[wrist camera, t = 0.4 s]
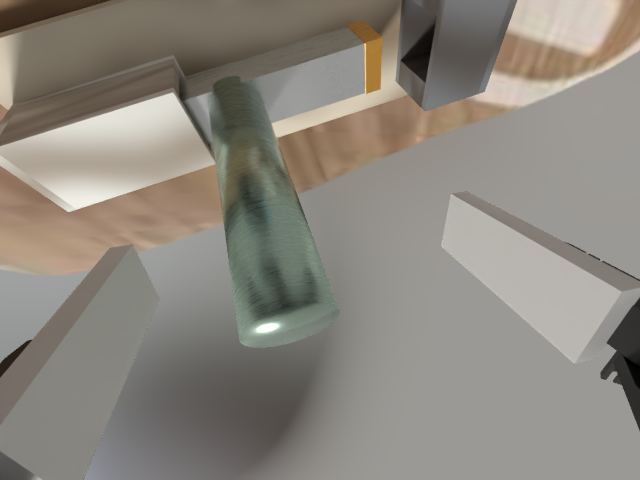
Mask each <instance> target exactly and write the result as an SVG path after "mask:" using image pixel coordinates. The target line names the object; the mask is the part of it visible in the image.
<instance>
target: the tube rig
mask: <svg viewBox="0 0 640 480" xmlns="http://www.w3.org/2000/svg"><path fill="white" fill-rule="evenodd" d="M516 2H517V0H110V1H107V2H103V3H100V4H97V5H93V6H90V7H86V8H83V9H80V10H76V11H73V12H69V13H66V14H63V15H59V16H56V17H52V18H49V19H45V20H42V21H39V22H35V23H32V24H28V25H25V26H22V27H18V28H15V29H11V30H8V31H5V32H1V33H0V104H1V105H2V106H4V107H5V108H6V109H7V110H8V112H7V113H6V115H5V117H4V118H3V120H2V121H1V123H0V166H2V167H3V168H5V169H6V170H8V171H9V172H11V173H12V174H14V175H15V176H16V177H18V178H19V179H21V180H22V181H24V182H25V183H27V184H28V185H30V186H31V187H33V188H34V189H35V190H37V191H38V192H40V193H41V194H43V195H44V196H46V197H47V198H49V199H50V200H52V201H53V202H54V203H56V204H57V205H59V206H60V207H62V208H63V209H65V210H66V211H68V212H70V211H73V210H76V209H79V208H82V207H86V206H89V205H92V204H95V203H98V202H101V201H104V200H107V199H110V198H113V197H116V196H119V195H122V194H125V193H128V192H131V191H134V190H138V189H141V188H144V187H147V186H150V185H153V184H156V183H159V182H162V181H165V180H168V179H171V178H174V177H177V176H180V175H183V174H186V173H190V172H193V171H196V170H199V169H202V168H205V167H208V166H211V165H214V164H216V162H215V154H214V147H213V142H212V143H209V144H206V142H205V140H204V139H203V137H202V135H201V134H200V132H199V130H198V129H197V127H196V125H195V124H194V122H193V120H192V118H191V117H190V115H189V113H188V112H187V110H186V108H185V107H184V105H183V103H182V102H181V100H180V98H179V78H182V77H186V76H189V75H192V74H195V73H198V72H202V71H205V70H208V69H211V68H215V67H218V66H221V65H224V64H227V63H231V62H234V61H237V60H240V59H243V58H247V57H250V56H253V55H256V54H260V53H263V52H266V51H269V50H272V49H276V48H279V47H282V46H285V45H289V44H292V43H295V42H298V41H301V40H305V39H308V38H311V37H314V36H318V35H321V34H324V33H327V32H330V31H334V30H337V29H340V28H343V27H347V25H349V24H352V23H355V22H358V21H362V20H363V21H364V22H365V23H366V24H368V25H369V26H370V27H371V28H372V29H373V30H374V31H376V32H377V33H378V34H379V35H380V36H381V37H383V38H382V65H381V89H380V90H377V91H374V92H371V93H368V94H366V93H364V94H361V95H358V96H355V97H351V98H348V99H345V100H342V101H339V102H336V103H333V104H330V105H327V106H324V107H321V108H317V109H314V110H311V111H308V112H305V113H302V114H299V115H296V116H293V117H290V118H286V119H283V120H280V121H277V122H274V123H271V124H272V127H273V129H274V132H275V135H276V138H278V137H281V136H284V135H287V134H290V133H293V132H296V131H299V130H302V129H305V128H308V127H311V126H314V125H317V124H321V123H324V122H327V121H330V120H333V119H336V118H339V117H342V116H345V115H348V114H351V113H354V112H357V111H360V110H363V109H367V108H370V107H373V106H376V105H379V104H382V103H385V102H388V101H391V100H394V99H397V98H400V97H403V96H406V95H409V96H410V97H411V98H412V99H413V100H414V101H415V102H416V103H417V104H418V105H419V106H420V107H421V108H422V109H423V110H424V111H428V110H431V109H434V108H437V107H440V106H443V105H446V104H449V103H452V102H455V101H458V100H461V99H464V98H467V97H470V96H473V95H476V94H479V93H483V92H485V89H486V86H487V84H488V81H489V78H490V75H491V72H492V70H493V67H494V64H495V61H496V58H497V56H498V53H499V50H500V47H501V44H502V42H503V39H504V36H505V33H506V30H507V27H508V25H509V22H510V19H511V16H512V13H513V11H514V8H515V5H516Z"/></svg>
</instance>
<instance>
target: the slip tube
mask: <svg viewBox="0 0 640 480" xmlns="http://www.w3.org/2000/svg"><path fill="white" fill-rule="evenodd" d="M382 38H383V37H381V36H380V35H379V34H378V33H377V32H376V31H374V30H373V29H372V28H371V27H370V26H369V25H368V24H366V23H365V22H364V21H363V20H362V21H358V22H355V23H352V24H349V25H347V27H343V28H340V29H337V30H334V31H330V32H327V33H324V34H321V35H318V36H314V37H311V38H308V39H305V40H301V41H298V42H295V43H292V44H289V45H285V46H282V47H279V48H276V49H272V50H269V51H266V52H263V53H260V54H256V55H253V56H250V57H247V58H243V59H240V60H237V61H234V62H231V63H227V64H224V65H221V66H218V67H215V68H211V69H208V70H205V71H202V72H198V73H195V74H192V75H189V76H186V77H182V78H179V98H180V100H181V102H182V103H183V105H184V107H185V108H186V110H187V112H188V113H189V115H190V117H191V118H192V120H193V122H194V124H195V125H196V127H197V129H198V130H199V132H200V134H201V135H202V137H203V139H204V140H205V142H206V144H209V143H212V142H213V147H214V154H215V162H216V169H217V177H218V184H219V192H220V199H221V206H222V214H223V221H224V229H225V236H226V244H227V251H228V258H229V266H230V274H231V280H232V288H233V295H234V303H235V310H236V318H237V325H238V333H239V340H240V342H241V343H242V344H243V345H245V346H249V347H257V348H258V347H259V348H261V347H272V346H279V345H283V344H288V343H291V342H294V341H298V340H301V339H303V338H306V337H309V336H311V335H313V334H315V333H317V332H319V331H321V330H323V329H324V328H326V327H327V326H329V325H330V324H331V323H333V321H335V319H336V318H337V317H338V315H339V309H338V306H337V303H336V300H335V298H334V295H333V292H332V289H331V286H330V284H329V281H328V278H327V275H326V273H325V270H324V267H323V265H322V262H321V259H320V256H319V253H318V251H317V248H316V245H315V242H314V240H313V237H312V234H311V231H310V229H309V226H308V223H307V220H306V218H305V215H304V212H303V209H302V207H301V204H300V201H299V198H298V196H297V193H296V190H295V187H294V184H293V182H292V179H291V176H290V173H289V171H288V168H287V165H286V162H285V160H284V157H283V154H282V151H281V149H280V146H279V143H278V140H277V138H276V135H275V132H274V129H273V127H272V124H271V123H274V122H277V121H280V120H283V119H286V118H290V117H293V116H296V115H299V114H302V113H305V112H308V111H311V110H314V109H317V108H321V107H324V106H327V105H330V104H333V103H336V102H339V101H342V100H345V99H348V98H351V97H355V96H358V95H361V94H364V93H366V94H368V93H371V92H374V91H377V90H380V89H381V65H382Z"/></svg>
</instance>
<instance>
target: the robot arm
mask: <svg viewBox="0 0 640 480" xmlns="http://www.w3.org/2000/svg"><path fill="white" fill-rule="evenodd" d="M441 247H443V248H444V249H445V250H446V251H447V252H448V253H450V254H451V255H452V256H453V257H454V258H455V259H456V260H457V261H458V262H460V263H461V264H462V265H463V266H464V267H465V268H467V269H468V270H469V271H470V272H471V273H472V274H473V275H475V276H476V277H477V278H478V279H479V280H480V281H481V282H482V283H483V284H485V285H486V286H487V287H488V288H489V289H490V290H491V291H493V292H494V293H495V294H496V295H497V296H498V297H499V298H500V299H502V300H503V301H504V302H505V303H506V304H507V305H509V306H510V307H511V308H512V309H513V310H514V311H515V312H516V313H518V314H519V315H520V316H521V317H522V318H523V319H524V320H526V321H527V322H528V323H529V324H530V325H531V326H532V327H533V328H535V329H536V330H537V331H538V332H539V333H540V334H541V335H543V336H544V337H545V338H546V339H547V340H548V341H549V342H551V343H552V344H553V345H554V346H555V347H556V348H557V349H558V350H560V351H561V352H562V353H563V354H564V355H565V356H566V357H567V358H569V359H570V360H571V361H572V362H573V363H574V364H576V363H579V362H583V361H587V360H590V359H594V358H597V357H598V355H599V354H600V352H601V351H602V350H603V348H604V347H605V345H606V344H609V345H610V346H611V347H613V348H614V349H615V350H617V351H616V353H615V354H614V355H613V357H612V358H611V359H610V361H609V362H608V363H607V365H606V366H605V367H604V368H603V370H602V371H601V379H605V380H606V379H607V378H608V376H609V375H610V374H611V373H612V371H617V373H618V375H617V376H616V377H615V379H614V380H613V382H614V383H617V384H621V385H622V386H623V389H624V391H625V394H626V397H627V399H628V402H629V404H630V407H631V409H632V412H633V415H634V417H635V420H636V422H637V425H638V427H639V430H640V280H639V279H637V278H635V277H633V276H631V275H629V274H628V273H626V272H624V271H622V270H620V269H618V268H616V267H614V266H612V265H610V264H608V263H606V262H604V261H600V259H598V258H596V257H595V256H593V255H591V254H586V252H585V251H583V250H581V249H579V248H577V247H575V246H573V245H571V244H569V243H566V242H563V241H561V240H559V239H557V238H555V237H553V236H552V235H550V234H548V233H546V232H544V231H542V230H540V229H538V228H536V227H534V226H532V225H530V224H528V223H527V222H524V221H523V220H521V219H519V218H517V217H515V216H513V215H511V214H509V213H507V212H505V211H503V210H501V209H500V208H498V207H496V206H494V205H492V204H490V203H488V202H486V201H484V200H482V199H480V198H478V197H476V196H475V195H473V194H471V193H469V192H467V191H466V192H459V193H453V194H451V196H450V202H449V207H448V213H447V218H446V223H445V229H444V234H443V239H442V245H441ZM159 300H160V298H159V296H158V294H157V292H156V290H155V288H154V286H153V284H152V282H151V280H150V278H149V276H148V274H147V272H146V270H145V268H144V266H143V264H142V262H141V260H140V258H139V256H138V254H137V252H136V250H135V248H134V246H133V244H131V245H125V246H119V247H112V248H110V249H109V250H108V251H107V252H106V254H105V255H104V256H103V257H102V258H101V260H100V261H99V262H98V263H97V264H96V265H95V267H94V268H93V269H92V270H91V271H90V273H89V274H88V275H87V276H86V277H85V278H84V280H83V281H82V282H81V283H80V285H78V287H77V288H76V289H75V290H74V291H73V293H72V294H71V295H70V296H69V298H67V300H66V301H65V302H64V303H63V304H62V306H61V307H60V308H59V309H58V310H57V312H56V313H55V314H54V315H53V316H52V317H51V319H50V320H49V321H48V322H47V323H46V324H45V326H44V327H43V328H42V329H41V330H40V332H39V333H38V334H37V335H36V336H35V337H34V339H33V340H29V341H27V342H25V343H24V344H23V345H21V346H20V347H19V348H18V349H16V350H15V351H14V352H12V353H11V354H10V355H9V356H8V357H6V358H5V359H4V360H3V361H2V362H1V363H0V480H84V478H85V476H86V473H87V471H88V469H89V466H90V464H91V461H92V459H93V456H94V454H95V452H96V449H97V447H98V445H99V442H100V440H101V438H102V435H103V433H104V431H105V428H106V426H107V424H108V421H109V419H110V416H111V414H112V412H113V409H114V407H115V405H116V402H117V400H118V397H119V395H120V393H121V390H122V388H123V386H124V383H125V381H126V378H127V376H128V374H129V371H130V369H131V366H132V364H133V362H134V360H135V357H136V355H137V353H138V350H139V348H140V345H141V343H142V341H143V338H144V336H145V333H146V331H147V329H148V326H149V324H150V322H151V319H152V317H153V315H154V312H155V310H156V308H157V305H158V303H159Z"/></svg>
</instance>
